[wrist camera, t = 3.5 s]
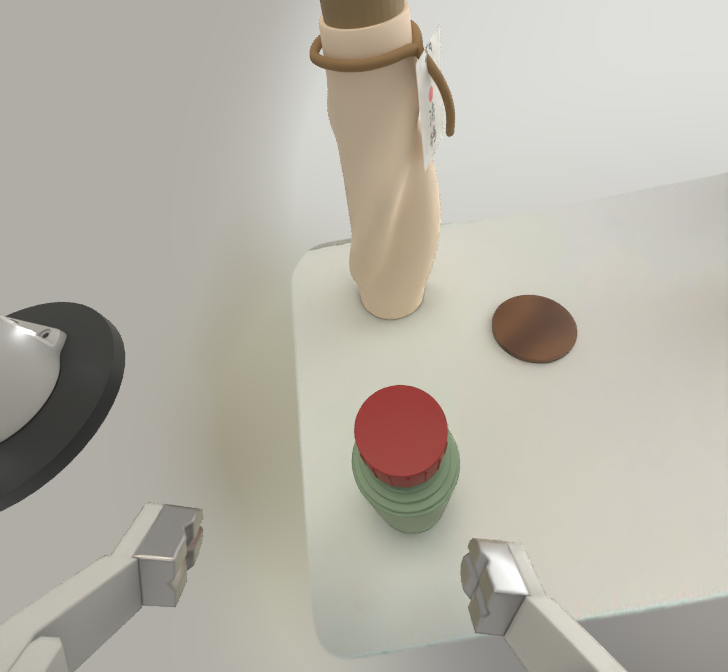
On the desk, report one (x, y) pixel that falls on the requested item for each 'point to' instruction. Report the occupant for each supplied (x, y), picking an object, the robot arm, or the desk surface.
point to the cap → (401, 435)
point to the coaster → (534, 328)
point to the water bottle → (386, 144)
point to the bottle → (410, 493)
